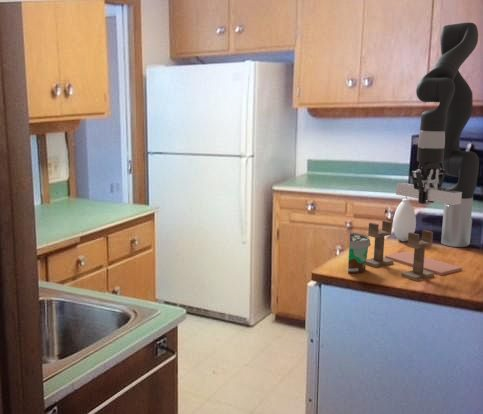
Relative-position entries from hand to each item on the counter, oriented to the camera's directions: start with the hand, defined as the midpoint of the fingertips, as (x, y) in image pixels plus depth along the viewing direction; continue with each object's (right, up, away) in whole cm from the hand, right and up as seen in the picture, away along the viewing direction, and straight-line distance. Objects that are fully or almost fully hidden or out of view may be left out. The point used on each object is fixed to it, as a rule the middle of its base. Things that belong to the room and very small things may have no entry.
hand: (426, 202), depth 165 cm
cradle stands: (-10, -20, -3) cm, 22 cm away
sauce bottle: (+3, -14, +32) cm, 35 cm away
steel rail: (0, +1, 0) cm, 1 cm away
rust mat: (0, -19, +3) cm, 19 cm away
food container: (-21, -20, -3) cm, 30 cm away
